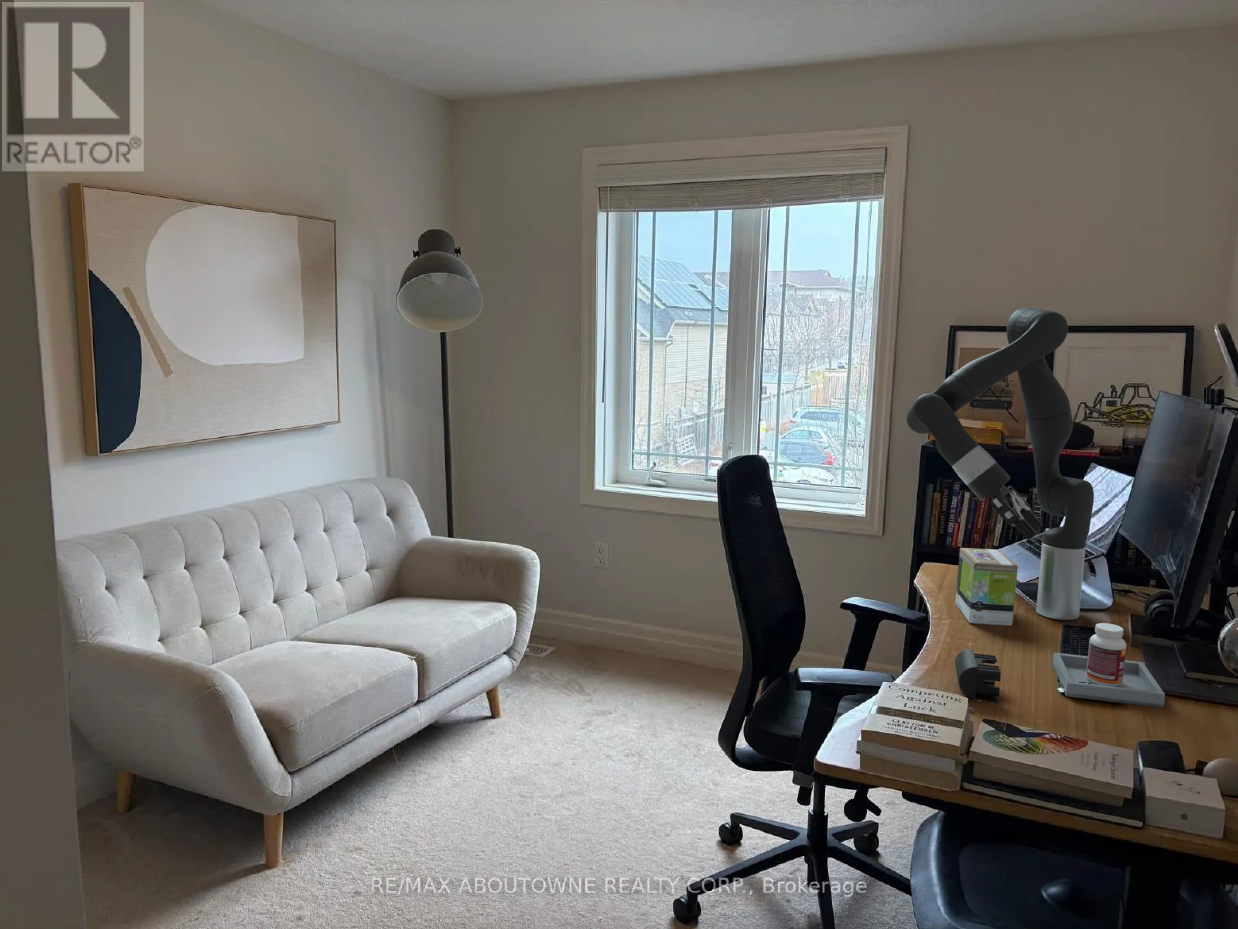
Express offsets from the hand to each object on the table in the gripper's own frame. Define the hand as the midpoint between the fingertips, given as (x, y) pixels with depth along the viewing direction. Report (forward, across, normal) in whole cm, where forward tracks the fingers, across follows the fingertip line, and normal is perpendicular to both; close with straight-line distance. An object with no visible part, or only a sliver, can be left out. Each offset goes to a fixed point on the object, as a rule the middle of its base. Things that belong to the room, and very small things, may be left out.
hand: (1036, 533), depth 178 cm
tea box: (+10, +24, +28) cm, 38 cm away
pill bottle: (+29, -7, +8) cm, 31 cm away
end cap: (+15, -24, +23) cm, 36 cm away
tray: (+30, -7, +8) cm, 31 cm away
